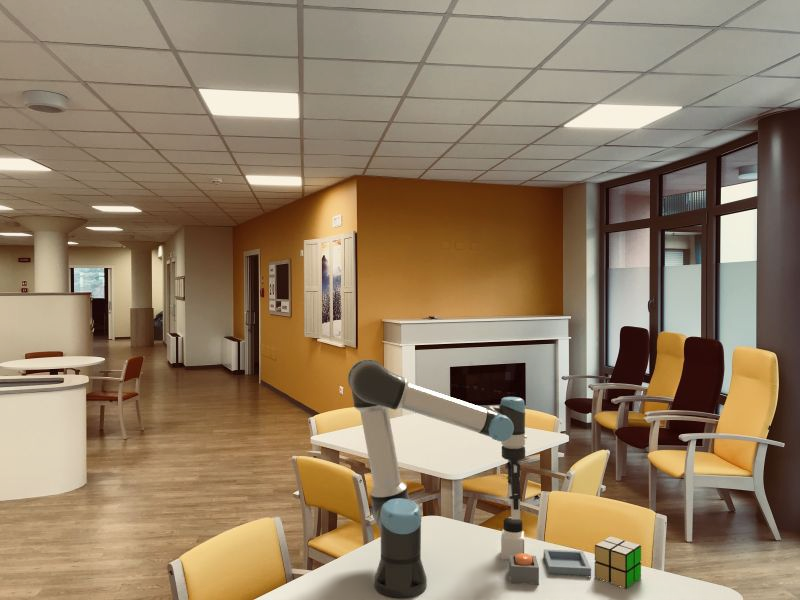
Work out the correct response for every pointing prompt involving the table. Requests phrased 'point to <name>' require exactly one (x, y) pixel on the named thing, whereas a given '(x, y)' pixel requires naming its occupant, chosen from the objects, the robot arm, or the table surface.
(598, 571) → the puzzle cube
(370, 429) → the robot arm
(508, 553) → the medicine bottle
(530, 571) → the button housing
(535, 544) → the table surface
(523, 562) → the button
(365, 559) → the table surface
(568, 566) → the tray
